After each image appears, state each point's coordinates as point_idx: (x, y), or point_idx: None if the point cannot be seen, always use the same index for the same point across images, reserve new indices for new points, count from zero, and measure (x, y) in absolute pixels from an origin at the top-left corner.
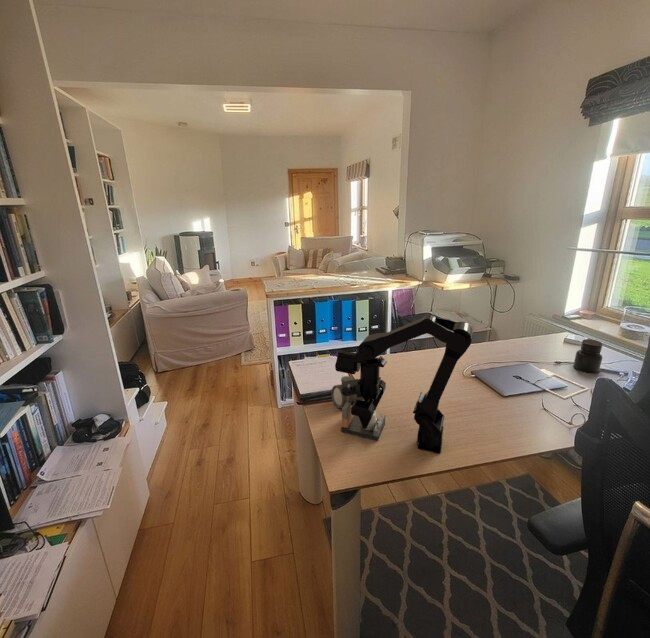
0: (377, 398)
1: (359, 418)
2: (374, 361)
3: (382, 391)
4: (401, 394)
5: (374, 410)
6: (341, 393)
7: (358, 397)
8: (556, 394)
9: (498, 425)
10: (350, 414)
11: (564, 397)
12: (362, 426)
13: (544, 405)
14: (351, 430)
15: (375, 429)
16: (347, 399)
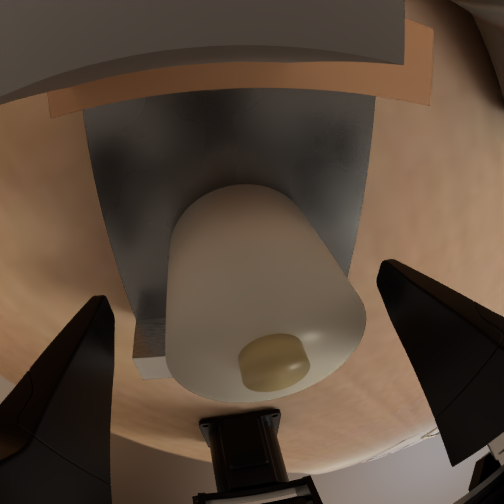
0: (452, 411)
1: (4, 402)
2: None
3: (479, 465)
4: None
5: (339, 366)
6: None
7: None
8: (431, 432)
9: (359, 443)
10: (209, 86)
11: (423, 438)
12: (79, 313)
13: (411, 437)
14: (89, 150)
15: (150, 364)
16: (499, 12)
